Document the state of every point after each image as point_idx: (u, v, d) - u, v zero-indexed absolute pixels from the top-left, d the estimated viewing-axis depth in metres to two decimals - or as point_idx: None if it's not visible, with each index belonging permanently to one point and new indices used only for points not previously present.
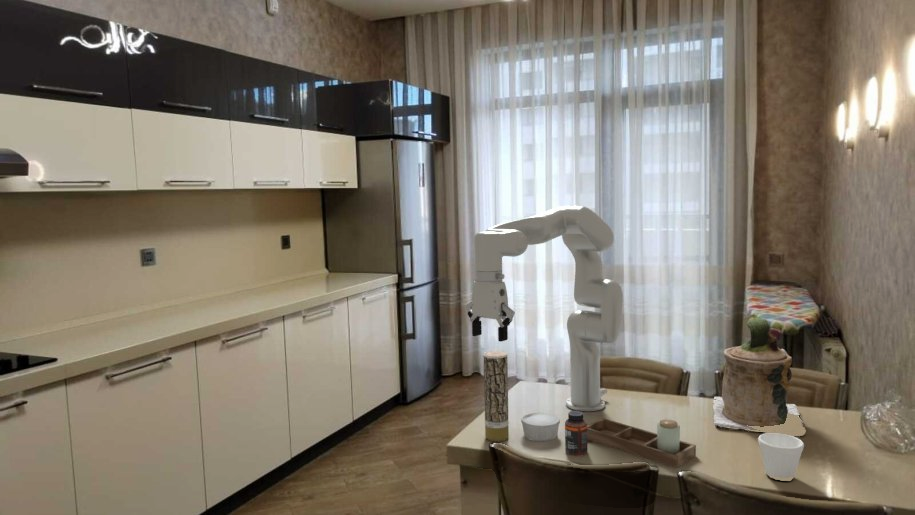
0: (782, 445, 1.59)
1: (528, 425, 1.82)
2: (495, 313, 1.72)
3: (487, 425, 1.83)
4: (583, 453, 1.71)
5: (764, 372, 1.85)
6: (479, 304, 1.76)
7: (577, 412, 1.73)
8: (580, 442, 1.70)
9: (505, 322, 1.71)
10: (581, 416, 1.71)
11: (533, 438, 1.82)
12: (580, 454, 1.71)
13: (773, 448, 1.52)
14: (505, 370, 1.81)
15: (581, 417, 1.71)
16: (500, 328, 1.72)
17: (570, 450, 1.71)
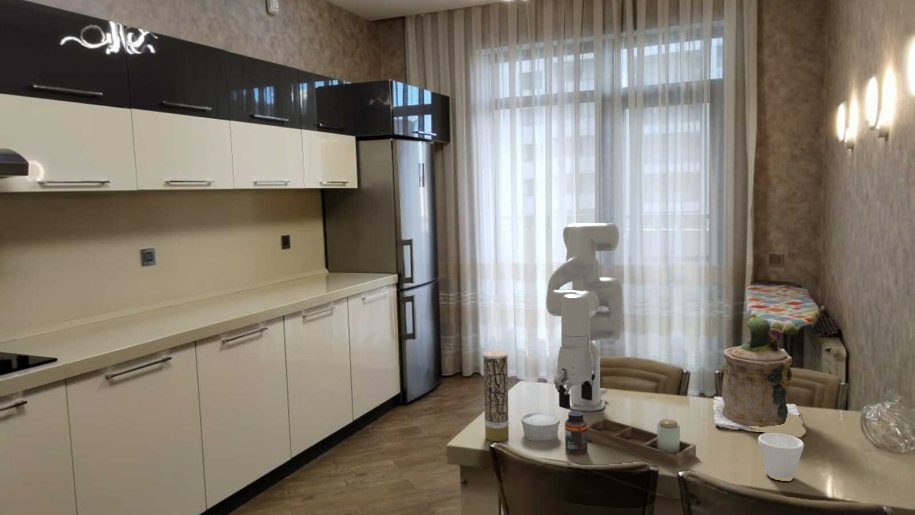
0: (782, 445, 1.59)
1: (528, 425, 1.82)
2: (591, 373, 1.72)
3: (487, 425, 1.83)
4: (583, 453, 1.71)
5: (764, 372, 1.85)
6: (579, 371, 1.68)
7: (577, 412, 1.73)
8: (580, 442, 1.70)
9: (592, 379, 1.75)
10: (581, 416, 1.71)
11: (533, 438, 1.82)
12: (580, 454, 1.71)
13: (773, 448, 1.52)
14: (505, 370, 1.81)
15: (581, 417, 1.71)
16: None
17: (570, 450, 1.71)
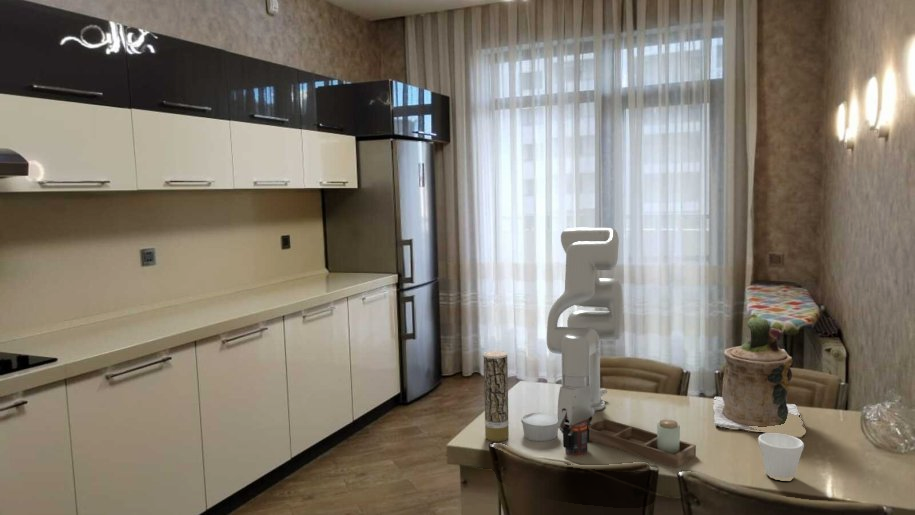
0: (782, 445, 1.59)
1: (528, 425, 1.82)
2: (591, 411, 1.74)
3: (487, 425, 1.83)
4: (583, 453, 1.71)
5: (764, 372, 1.85)
6: (580, 410, 1.69)
7: None
8: (580, 441, 1.70)
9: (589, 421, 1.75)
10: None
11: (533, 438, 1.82)
12: (580, 454, 1.71)
13: (773, 448, 1.52)
14: (505, 370, 1.81)
15: None
16: None
17: (570, 450, 1.71)
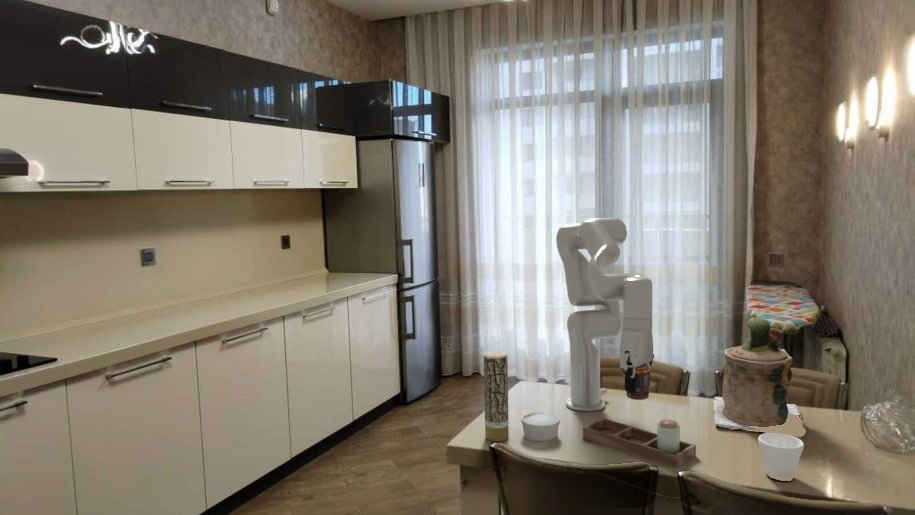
0: (782, 445, 1.59)
1: (528, 425, 1.82)
2: (652, 355, 1.74)
3: (487, 425, 1.83)
4: (645, 396, 1.71)
5: (764, 372, 1.85)
6: (642, 353, 1.70)
7: None
8: (643, 384, 1.71)
9: (649, 365, 1.76)
10: None
11: (533, 438, 1.82)
12: (642, 397, 1.71)
13: (773, 448, 1.52)
14: (505, 370, 1.81)
15: None
16: None
17: (632, 393, 1.72)
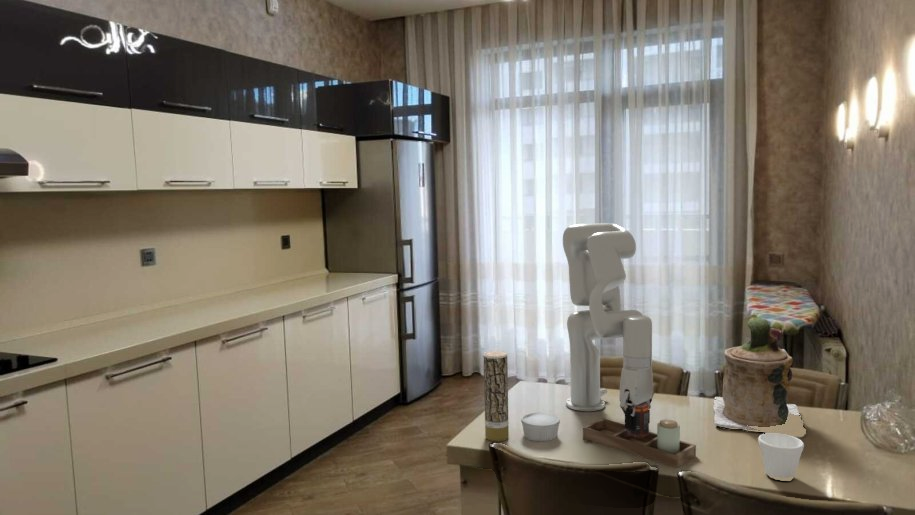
0: (782, 445, 1.59)
1: (528, 425, 1.82)
2: (652, 393, 1.75)
3: (487, 425, 1.83)
4: (645, 434, 1.72)
5: (764, 372, 1.85)
6: (642, 391, 1.71)
7: None
8: (643, 422, 1.72)
9: (649, 402, 1.77)
10: None
11: (533, 438, 1.82)
12: (642, 435, 1.72)
13: (773, 448, 1.52)
14: (505, 370, 1.81)
15: None
16: None
17: (632, 431, 1.73)
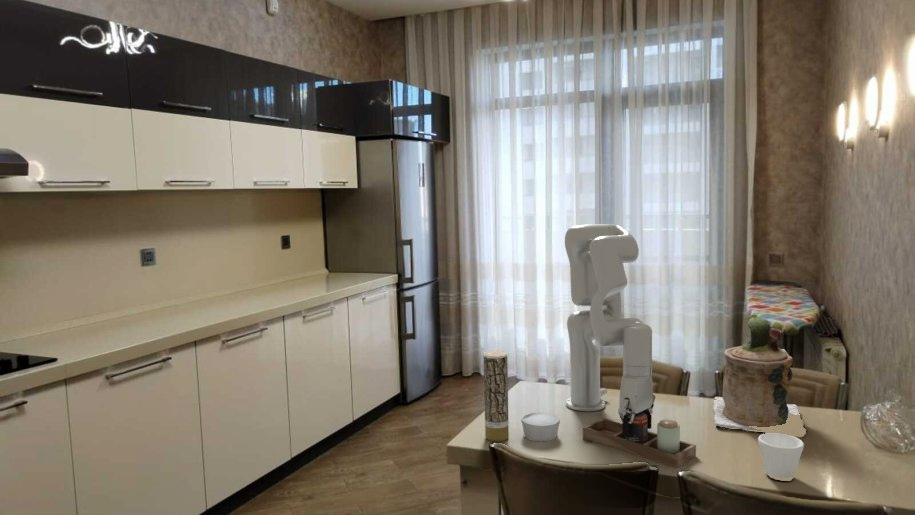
0: (782, 445, 1.59)
1: (528, 425, 1.82)
2: (652, 401, 1.76)
3: (487, 425, 1.83)
4: None
5: (765, 372, 1.85)
6: (642, 399, 1.71)
7: None
8: (642, 434, 1.72)
9: (651, 408, 1.78)
10: None
11: (533, 438, 1.82)
12: None
13: (773, 448, 1.52)
14: (505, 370, 1.81)
15: None
16: None
17: None
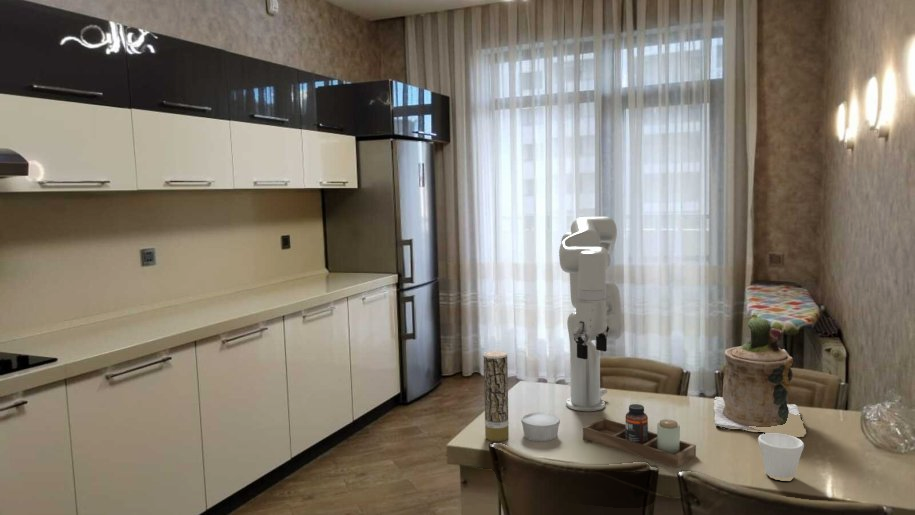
0: (782, 445, 1.59)
1: (528, 425, 1.82)
2: (606, 326, 1.81)
3: (487, 425, 1.83)
4: None
5: (765, 373, 1.85)
6: (596, 323, 1.77)
7: (638, 405, 1.75)
8: (642, 434, 1.72)
9: (606, 331, 1.84)
10: (642, 409, 1.73)
11: (533, 438, 1.82)
12: None
13: (773, 448, 1.52)
14: (505, 370, 1.81)
15: (642, 410, 1.73)
16: None
17: None
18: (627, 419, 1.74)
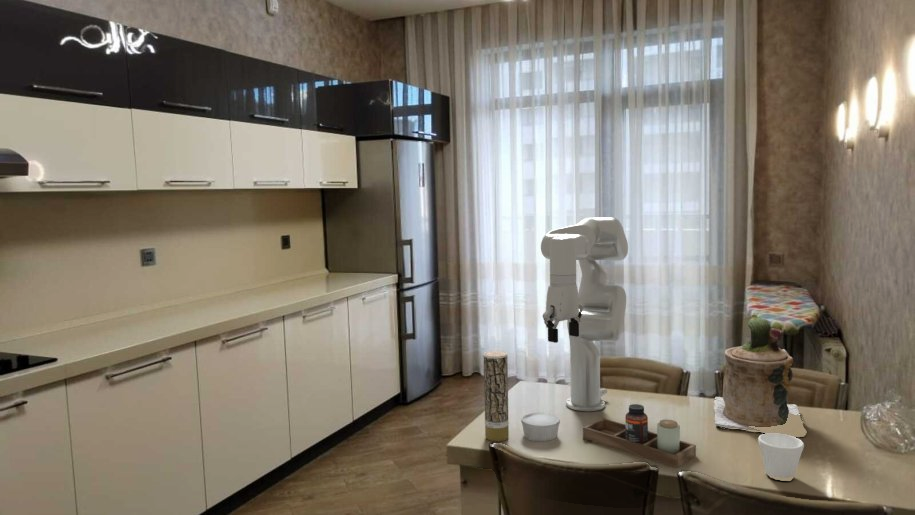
0: (782, 445, 1.59)
1: (528, 425, 1.82)
2: (577, 311, 1.85)
3: (487, 425, 1.83)
4: None
5: (765, 373, 1.85)
6: (567, 307, 1.81)
7: (637, 405, 1.75)
8: (642, 434, 1.72)
9: (579, 317, 1.88)
10: (642, 409, 1.73)
11: (533, 438, 1.82)
12: None
13: (773, 448, 1.52)
14: (505, 370, 1.81)
15: (642, 410, 1.73)
16: None
17: None
18: (627, 419, 1.74)
